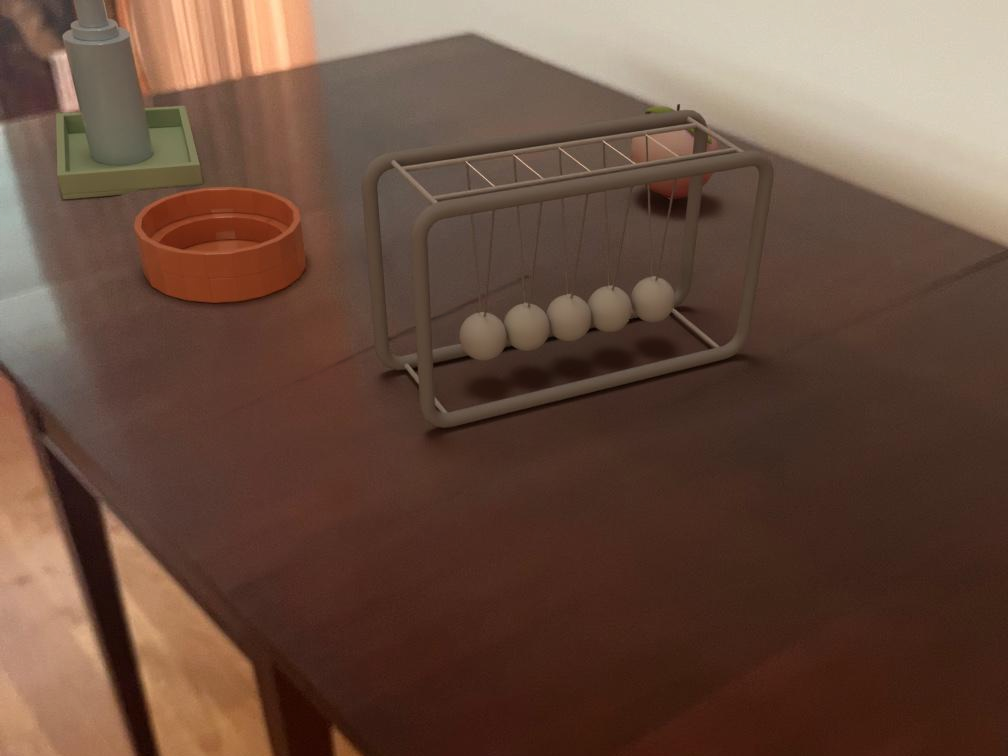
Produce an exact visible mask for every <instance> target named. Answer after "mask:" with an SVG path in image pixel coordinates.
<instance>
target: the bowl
mask: <svg viewBox="0 0 1008 756" xmlns="http://www.w3.org/2000/svg"><path fill="white" fill-rule="evenodd" d="M300 211H301V210H300V208H298V207H297V206H296V205H295V204H294V203H293V202H292V201H291V200H290V199H288V198H285V197H283V196H281V195H279V194H277V193H274V192H270V191H266V190H261V189H258V188H250V187H249V188H248V187H238V186H217V187H203V188H197V189H190V190H185V191H179V192H176V193H174V194H170V195H167V196H163V197H161V198H159V199H157V200H155V201H154V202H152V203H150V204H148V205H145V207H143V209H142V210H141V211H140V212H139V213H138V214H137V215H136V216H135V218H134V225H133V230H134V235H135V238H136V239H135V240H136V244H137V248H138V253H139V257H140V261H141V266H142V270H143V274H144V277H145V278H146V280H147V281H148V283H149V284H150V286H151V287H152V288H153V289H155V290H157V291H159V292H160V293H162V294H164V295H166V296H169V297H173V298H175V299H181V300H183V301H186V302H187V301H188V302H201V303H211V304H216V303H217V304H218V303H219V304H221V303H234V302H242V301H243V302H244V301H249V300H253V299H257V298H262V297H265V296H268V295H270V294H274V293H275V292H279V291H281V290H283V289H285V288H287V287H289V286H290V285H291V284H293V283H294V282H295V281H297V280H298V279H300V278H301V276H302V274H303V272H304V271H305V270H306V268H307V260H306V253H305V244H304V237H303V229H302V220H301V212H300Z"/></svg>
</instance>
